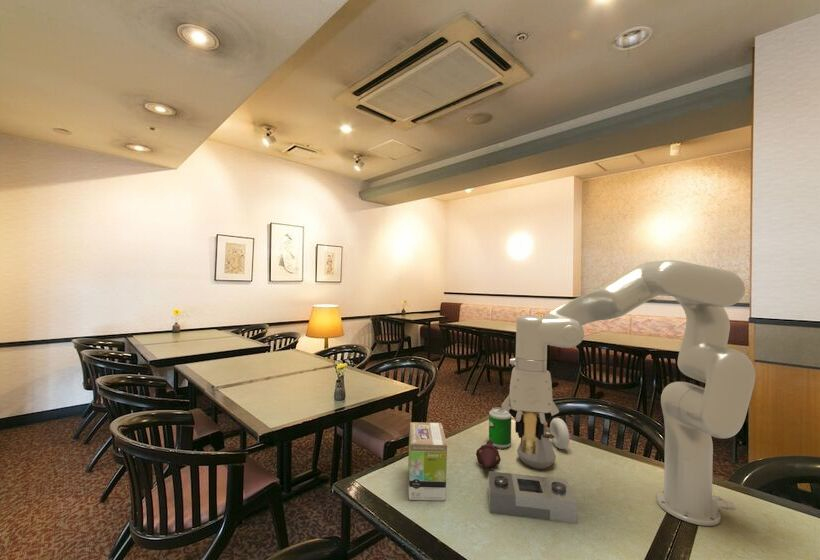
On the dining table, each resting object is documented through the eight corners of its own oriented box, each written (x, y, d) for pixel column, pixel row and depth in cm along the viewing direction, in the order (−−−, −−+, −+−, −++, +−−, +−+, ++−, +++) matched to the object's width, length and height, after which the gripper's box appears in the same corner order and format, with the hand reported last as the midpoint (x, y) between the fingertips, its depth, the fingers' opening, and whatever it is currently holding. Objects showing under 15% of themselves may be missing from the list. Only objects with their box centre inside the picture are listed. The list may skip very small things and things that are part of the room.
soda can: (513, 443, 125) (514, 409, 125) (507, 452, 119) (507, 416, 119) (492, 438, 129) (493, 405, 129) (485, 446, 123) (486, 411, 123)
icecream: (503, 459, 101) (503, 441, 116) (478, 449, 103) (480, 432, 118) (496, 483, 101) (497, 462, 115) (471, 472, 103) (474, 453, 117)
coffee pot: (513, 453, 118) (513, 407, 118) (548, 454, 118) (549, 409, 118) (531, 490, 97) (532, 435, 97) (574, 492, 96) (575, 437, 96)
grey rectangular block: (566, 498, 94) (566, 476, 94) (576, 523, 84) (577, 499, 84) (488, 489, 97) (488, 468, 97) (490, 512, 87) (490, 489, 87)
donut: (547, 441, 127) (548, 413, 127) (557, 441, 128) (557, 413, 128) (561, 455, 117) (561, 424, 117) (571, 454, 118) (571, 424, 118)
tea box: (447, 501, 92) (447, 444, 92) (408, 501, 92) (408, 443, 92) (441, 470, 107) (442, 421, 107) (408, 470, 107) (408, 420, 107)
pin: (538, 455, 88) (539, 406, 88) (521, 453, 89) (522, 405, 89) (535, 447, 92) (536, 401, 92) (519, 446, 93) (520, 400, 93)
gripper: (498, 365, 88) (496, 439, 88) (569, 370, 86) (567, 446, 85) (496, 359, 96) (494, 427, 96) (562, 363, 93) (560, 433, 93)
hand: (529, 435), depth 91 cm, fingers closed on pin, 4 cm apart
